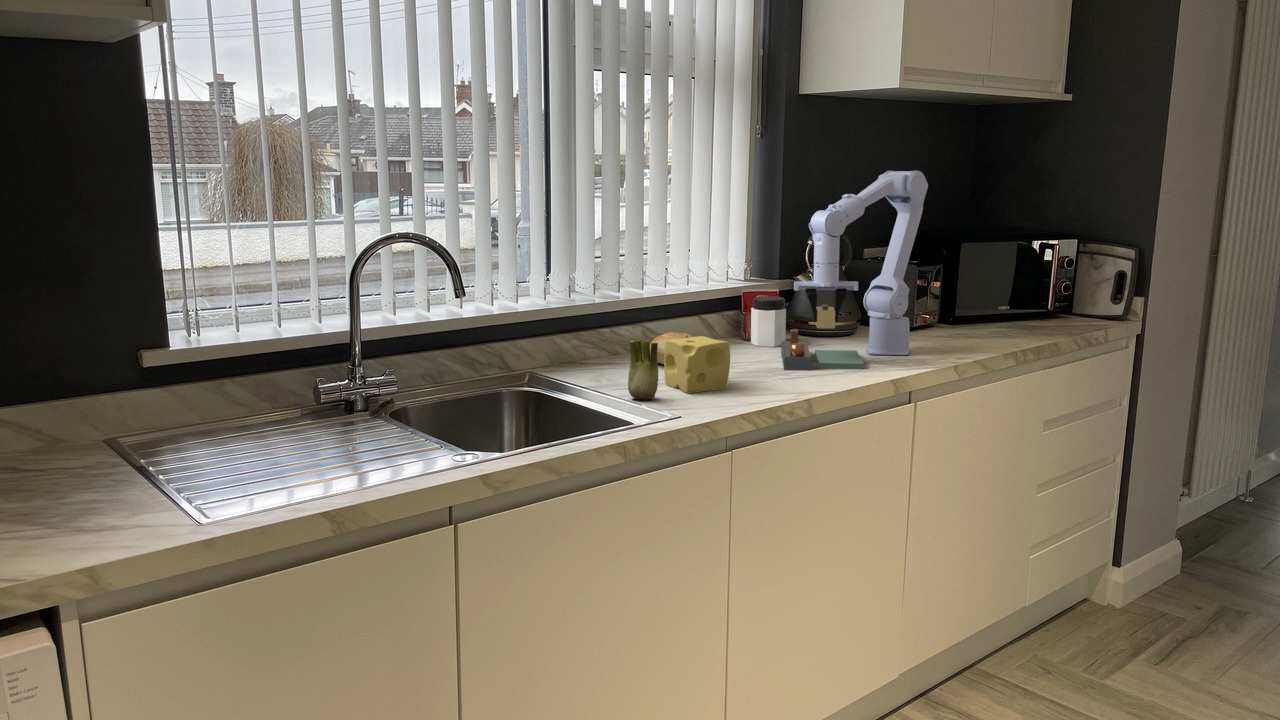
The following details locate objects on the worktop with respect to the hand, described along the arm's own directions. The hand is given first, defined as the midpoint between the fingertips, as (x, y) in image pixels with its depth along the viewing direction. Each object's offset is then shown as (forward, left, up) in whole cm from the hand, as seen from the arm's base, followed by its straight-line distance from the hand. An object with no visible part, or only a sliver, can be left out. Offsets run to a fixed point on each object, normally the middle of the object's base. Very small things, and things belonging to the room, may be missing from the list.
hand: (825, 321), depth 228 cm
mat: (-3, 0, -10) cm, 10 cm away
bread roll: (+35, +7, -10) cm, 37 cm away
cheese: (+29, +28, -10) cm, 41 cm away
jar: (+13, -22, -10) cm, 27 cm away
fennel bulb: (+39, +40, -10) cm, 57 cm away
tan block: (0, 0, -1) cm, 1 cm away
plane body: (+7, 0, -10) cm, 12 cm away
